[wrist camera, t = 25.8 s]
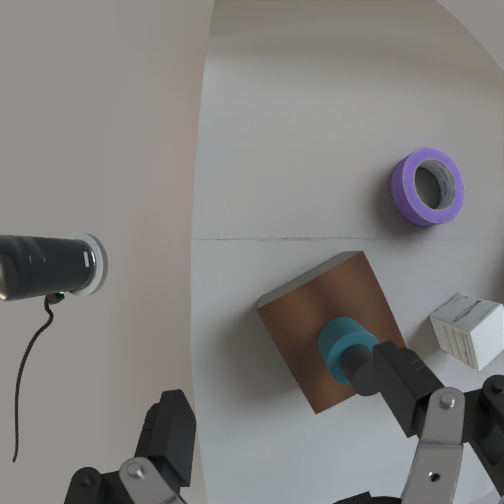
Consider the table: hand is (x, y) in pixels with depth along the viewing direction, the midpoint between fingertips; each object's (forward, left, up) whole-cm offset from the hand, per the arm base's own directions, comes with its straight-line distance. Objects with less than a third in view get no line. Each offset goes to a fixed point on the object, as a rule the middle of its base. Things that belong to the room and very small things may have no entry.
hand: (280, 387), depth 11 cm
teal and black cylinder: (+4, -8, -22) cm, 24 cm away
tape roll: (+28, +2, -33) cm, 43 cm away
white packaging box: (+23, -20, -33) cm, 45 cm away
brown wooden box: (+4, -8, -32) cm, 34 cm away
